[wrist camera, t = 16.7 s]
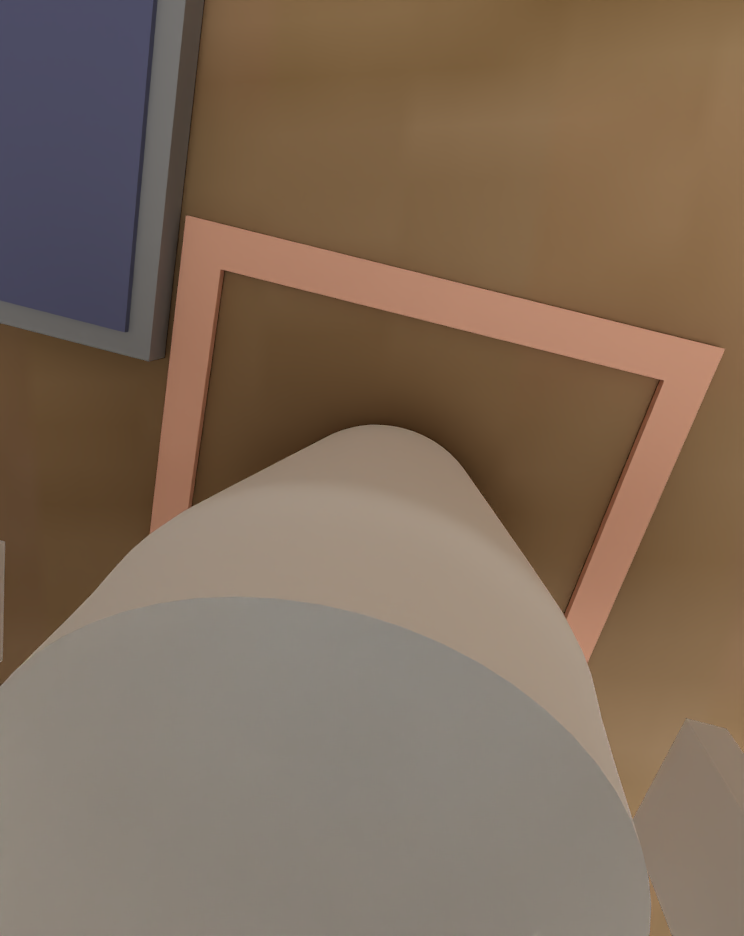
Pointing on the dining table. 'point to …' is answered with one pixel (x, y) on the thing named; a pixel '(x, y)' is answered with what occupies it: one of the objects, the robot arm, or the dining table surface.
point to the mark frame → (454, 306)
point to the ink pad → (94, 166)
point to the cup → (317, 725)
